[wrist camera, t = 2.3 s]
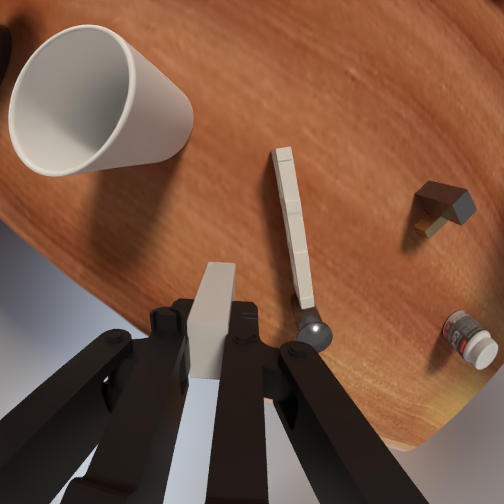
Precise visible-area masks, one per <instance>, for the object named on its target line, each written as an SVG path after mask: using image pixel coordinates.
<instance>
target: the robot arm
mask: <svg viewBox="0 0 504 504" xmlns="http://www.w3.org/2000/svg"><path fill="white" fill-rule="evenodd" d="M10 48H11V38H10V33H9V31H8V29H7V28H6V27H5V26H4V25H1V24H0V84H1V81H2V79H3V76H4V73H5V71H6V67H7V64H8V60H9V55H10ZM235 267H236V263H220V262H209V263H208V266H207V268H206V271H205V274H204V276H203V279H202V282H201V284H200V287H199V290H198V292H197V295H196V298H195V299H181V298H179V299H178V300H177V301H175V302H174V303H173V304H172V306H171V307H160V308H157V309H154V310H153V311H152V312H150V321H151V330H152V332H151V334H150V336H149V337H148V338H143V339H132V338H131V334H130V333H129V332H128V331H126V330H122V329H112V330H108V331H106V332H104V333H102V334H101V335H100V336H98V337H97V338H96V339H95V340H93V341H92V342H91V343H90V344H89V345H88V346H86V347H85V348H84V349H83V350H81V351H80V352H79V353H78V354H77V355H75V356H74V357H73V358H72V359H71V360H69V361H68V362H67V363H66V364H65V365H63V366H62V367H61V368H60V369H59V370H57V371H56V372H55V373H54V374H53V375H52V376H51V377H49V378H48V379H47V380H46V381H45V382H43V383H42V384H41V385H40V386H39V387H38V388H36V389H35V390H34V391H33V392H32V393H31V394H29V395H28V396H27V397H26V398H25V399H24V400H23V401H22V402H20V403H19V404H18V405H17V406H16V407H15V408H13V409H12V410H11V411H10V412H9V413H8V414H7V415H6V416H4V417H3V418H2V419H1V420H0V504H50V503H51V501H52V500H53V499H54V498H55V496H56V495H57V494H58V493H59V492H60V490H61V489H62V488H63V487H64V485H65V484H66V483H67V482H68V480H69V479H70V478H71V477H72V476H73V474H74V473H75V472H76V471H77V469H78V468H79V467H80V466H81V464H82V463H83V462H84V461H85V459H86V458H87V457H88V456H89V455H90V453H91V452H92V451H93V450H94V448H95V447H96V446H97V445H98V446H97V449H96V451H95V453H94V456H93V458H92V460H91V463H90V465H89V467H88V470H87V472H86V474H85V475H84V476H83V477H76V478H74V479H72V480H71V481H70V483H69V485H68V486H67V488H66V491H65V493H64V495H63V498H62V500H61V503H60V504H163V500H164V495H165V491H166V485H167V480H168V476H169V471H170V466H171V462H172V457H173V452H174V448H175V443H176V439H177V434H178V429H179V425H180V421H181V417H182V412H183V408H184V403H185V399H186V395H187V391H188V387H189V382H188V374H189V370H190V376H191V377H193V378H205V379H218V380H220V382H219V390H218V398H217V406H216V415H215V423H214V432H213V440H212V448H211V456H210V465H209V474H208V483H207V492H206V500H205V504H269V501H268V483H267V481H268V480H267V459H266V438H265V417H264V397H265V398H269V399H273V404H274V407H275V409H276V411H277V413H278V415H279V418H280V420H281V422H282V424H283V427H284V429H285V431H286V433H287V435H288V438H289V440H290V442H291V444H292V446H293V449H294V451H295V453H296V455H297V457H298V459H299V461H300V463H301V465H302V468H303V470H304V472H305V474H306V476H307V478H308V480H309V482H310V484H311V486H312V488H313V491H314V492H315V495H316V497H317V499H318V500H319V503H320V504H429V503H428V501H427V500H426V499H425V498H424V496H423V495H422V493H421V492H420V491H419V489H418V488H417V487H416V485H415V484H414V483H413V481H412V480H411V479H410V477H409V476H408V475H407V473H406V472H405V471H404V469H403V468H402V467H401V466H400V464H399V463H398V461H397V460H396V459H395V458H394V456H393V455H392V453H391V452H390V451H389V449H388V448H387V446H386V445H385V444H384V442H383V441H382V440H381V438H380V437H379V436H378V434H377V433H376V432H375V430H374V429H373V428H372V426H371V425H370V424H369V422H368V421H367V419H366V418H365V417H364V415H363V414H362V413H361V411H360V410H359V409H358V407H357V406H356V405H355V403H354V402H353V400H352V399H351V398H350V396H349V395H348V394H347V392H346V391H345V390H344V388H343V387H342V385H341V384H340V383H339V381H338V380H337V379H336V377H335V376H334V375H333V373H332V372H331V370H330V369H329V368H328V366H327V365H326V364H325V362H324V361H323V360H322V358H321V357H320V355H319V354H318V353H317V351H316V350H315V349H314V348H313V347H312V346H311V345H310V344H307V343H305V342H301V341H290V342H286V343H284V344H283V345H281V347H280V349H278V348H274V347H271V346H268V345H266V344H264V343H263V342H262V341H261V339H260V337H259V327H258V307H257V306H256V305H255V304H254V303H253V302H242V301H234V294H235ZM107 376H108V380H107V381H106V382H103V381H104V380H105V378H106V377H107ZM98 443H99V444H98Z"/></svg>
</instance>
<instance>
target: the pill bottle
mask: <svg viewBox="0 0 504 504" xmlns="http://www.w3.org/2000/svg"><path fill="white" fill-rule="evenodd" d="M443 335H444V337H445V338H446V340H447V341H448V342H449V343H450V344H451V345H452V346H453V347H454V348H455V349H456V351H457V352H458V353H459V354H460V355H461V356H462V357H463V358H464V359H465V361H467V362H471V363H472V365H473V366H474V367H475V368H476V369H478V370H481V369H484V368H485V367H487V366H488V365H489V364H490V363H491V362H492V361H493V359H494V358H495V356H496V354H497V352H498V345H497V343H496V342H495V341H494V340H493V339H491V336H490V333H489V332H488V331H487V330H486V329H485V328H484V327H482V326H481V325H480V324H479V323H478V322H477V321H476V320H475V319H473V318H472V317H471V316H470V315H469V314H468V313H467V312H465V311H462V310H461V311H457V312H455V313H453V314H452V315H451V316H450V317H449V318H448V319H447V321H446V323H445V325H444V328H443Z"/></svg>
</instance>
